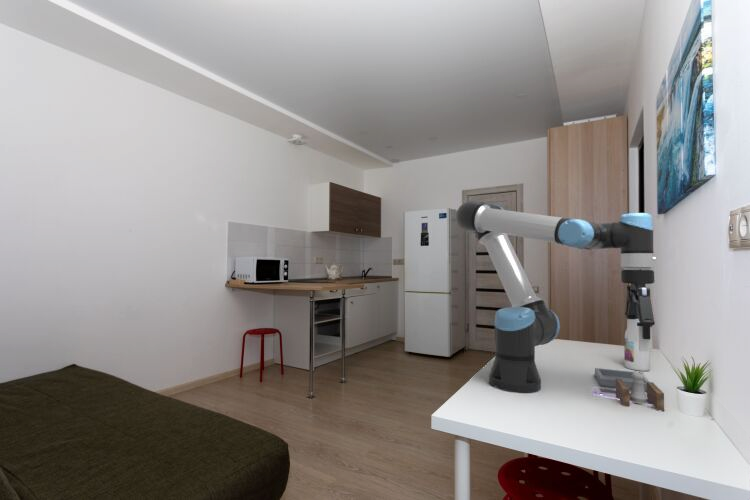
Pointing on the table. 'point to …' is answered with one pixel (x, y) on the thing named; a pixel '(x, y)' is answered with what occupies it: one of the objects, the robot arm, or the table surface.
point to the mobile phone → (610, 394)
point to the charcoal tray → (609, 378)
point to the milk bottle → (635, 356)
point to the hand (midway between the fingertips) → (639, 346)
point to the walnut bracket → (652, 393)
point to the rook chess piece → (638, 389)
